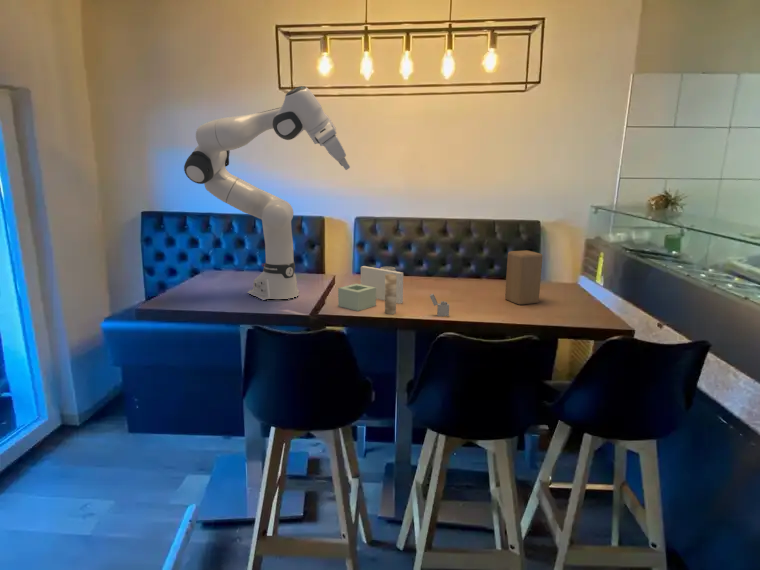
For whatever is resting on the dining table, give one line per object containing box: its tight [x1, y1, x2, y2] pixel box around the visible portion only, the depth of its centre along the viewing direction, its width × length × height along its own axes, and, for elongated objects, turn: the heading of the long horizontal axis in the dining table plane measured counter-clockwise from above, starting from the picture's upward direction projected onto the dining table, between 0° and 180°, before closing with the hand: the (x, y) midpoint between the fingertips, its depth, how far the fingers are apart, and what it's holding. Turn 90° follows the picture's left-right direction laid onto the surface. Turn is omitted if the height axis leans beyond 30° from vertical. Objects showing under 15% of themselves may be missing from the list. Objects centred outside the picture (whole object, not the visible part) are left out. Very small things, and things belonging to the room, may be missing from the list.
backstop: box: [360, 265, 404, 304], centre depth 195 cm, size 20×21×13 cm
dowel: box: [384, 274, 397, 315], centre depth 183 cm, size 4×4×15 cm
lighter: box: [429, 293, 450, 317], centre depth 185 cm, size 7×2×8 cm, turn 81°
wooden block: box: [504, 249, 544, 306], centre depth 204 cm, size 10×10×20 cm
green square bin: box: [337, 283, 377, 312], centre depth 192 cm, size 10×10×7 cm
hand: (345, 166), depth 177 cm, fingers open, 8 cm apart
